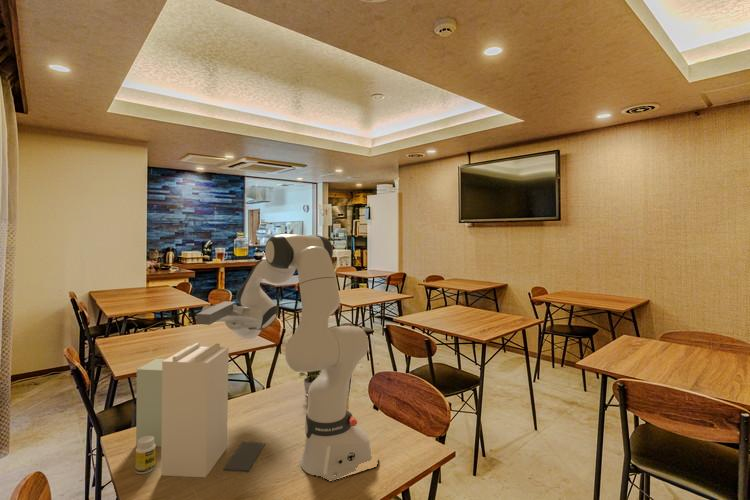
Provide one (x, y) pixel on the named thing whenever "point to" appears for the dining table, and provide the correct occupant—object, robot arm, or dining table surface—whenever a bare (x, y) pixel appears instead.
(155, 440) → the pale green block
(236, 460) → the plate
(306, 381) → the house plant
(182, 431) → the outlet wall
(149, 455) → the supplement bottle
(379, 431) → the dining table surface
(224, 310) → the bar
